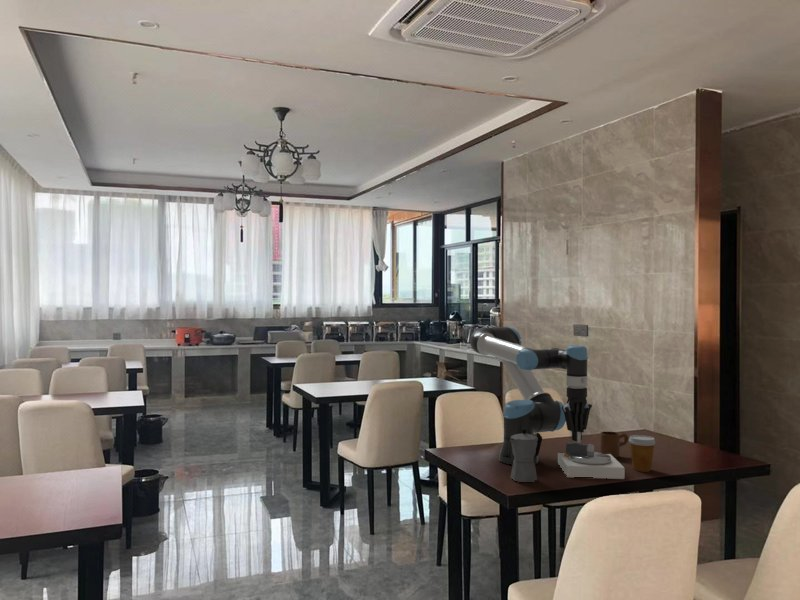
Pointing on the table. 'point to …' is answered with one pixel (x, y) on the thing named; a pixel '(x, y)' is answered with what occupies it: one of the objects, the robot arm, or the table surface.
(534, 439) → the coffeepot
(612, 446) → the mug
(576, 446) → the dial
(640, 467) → the disposable coffee cup
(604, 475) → the dial housing
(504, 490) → the table surface
